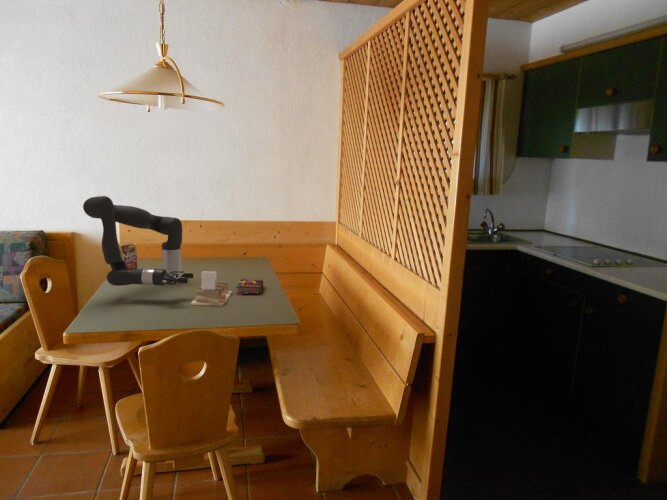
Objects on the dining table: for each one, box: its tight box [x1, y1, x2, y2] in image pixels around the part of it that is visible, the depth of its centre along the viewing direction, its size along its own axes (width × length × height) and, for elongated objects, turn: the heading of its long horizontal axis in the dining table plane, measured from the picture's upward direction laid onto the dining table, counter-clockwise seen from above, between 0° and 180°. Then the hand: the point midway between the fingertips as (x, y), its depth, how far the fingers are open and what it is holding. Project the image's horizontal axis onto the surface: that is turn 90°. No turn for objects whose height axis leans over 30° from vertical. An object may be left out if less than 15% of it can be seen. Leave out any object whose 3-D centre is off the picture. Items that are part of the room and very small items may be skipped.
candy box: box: [118, 242, 138, 271], centre depth 285 cm, size 9×4×15 cm, turn 134°
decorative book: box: [236, 277, 264, 296], centre depth 253 cm, size 11×16×5 cm
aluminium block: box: [200, 270, 218, 291], centre depth 232 cm, size 3×6×13 cm, turn 89°
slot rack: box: [190, 281, 233, 307], centre depth 238 cm, size 20×14×6 cm
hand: (190, 278), depth 232 cm, fingers open, 8 cm apart
